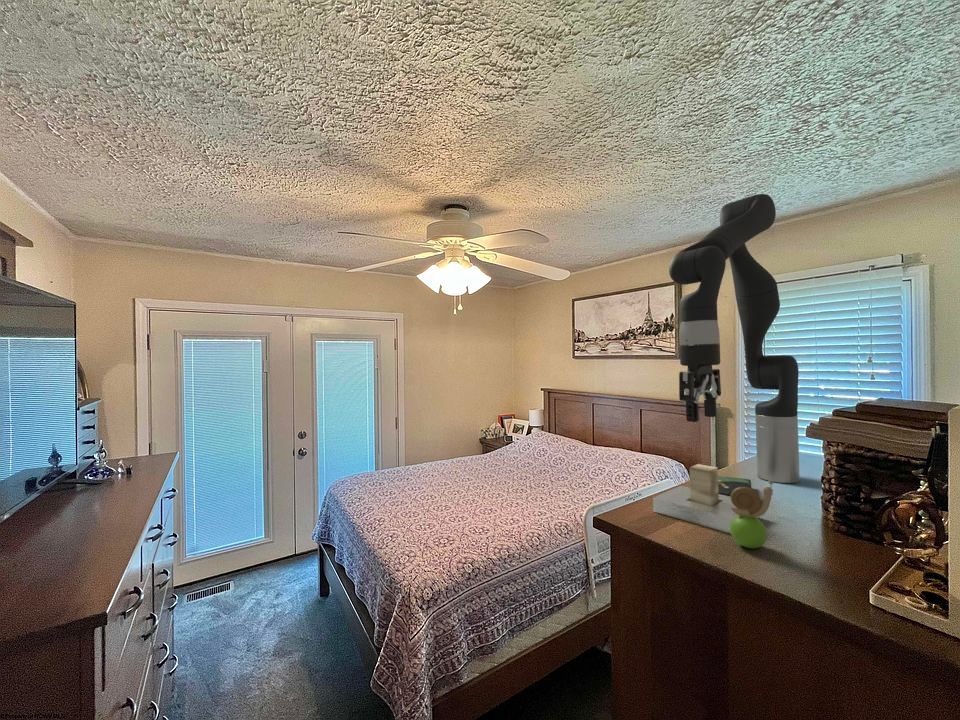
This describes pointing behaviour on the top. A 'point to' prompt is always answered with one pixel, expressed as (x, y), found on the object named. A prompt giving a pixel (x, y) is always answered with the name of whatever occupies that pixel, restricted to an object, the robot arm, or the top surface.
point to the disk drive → (731, 484)
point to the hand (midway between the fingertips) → (701, 419)
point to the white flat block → (695, 509)
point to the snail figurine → (749, 516)
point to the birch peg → (704, 485)
